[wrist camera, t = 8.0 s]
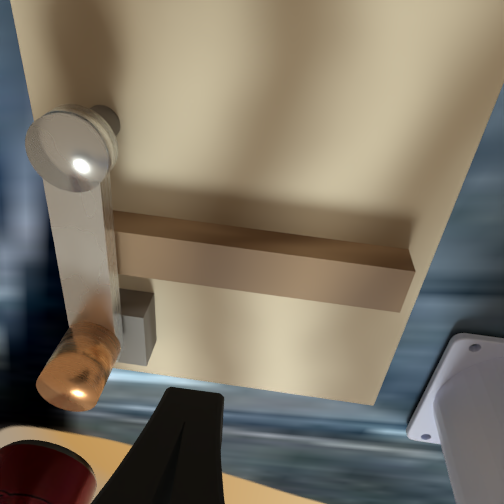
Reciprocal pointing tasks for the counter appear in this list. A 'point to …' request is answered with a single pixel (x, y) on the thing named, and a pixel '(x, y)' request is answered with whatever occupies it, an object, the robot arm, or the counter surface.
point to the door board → (273, 170)
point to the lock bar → (80, 250)
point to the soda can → (44, 474)
